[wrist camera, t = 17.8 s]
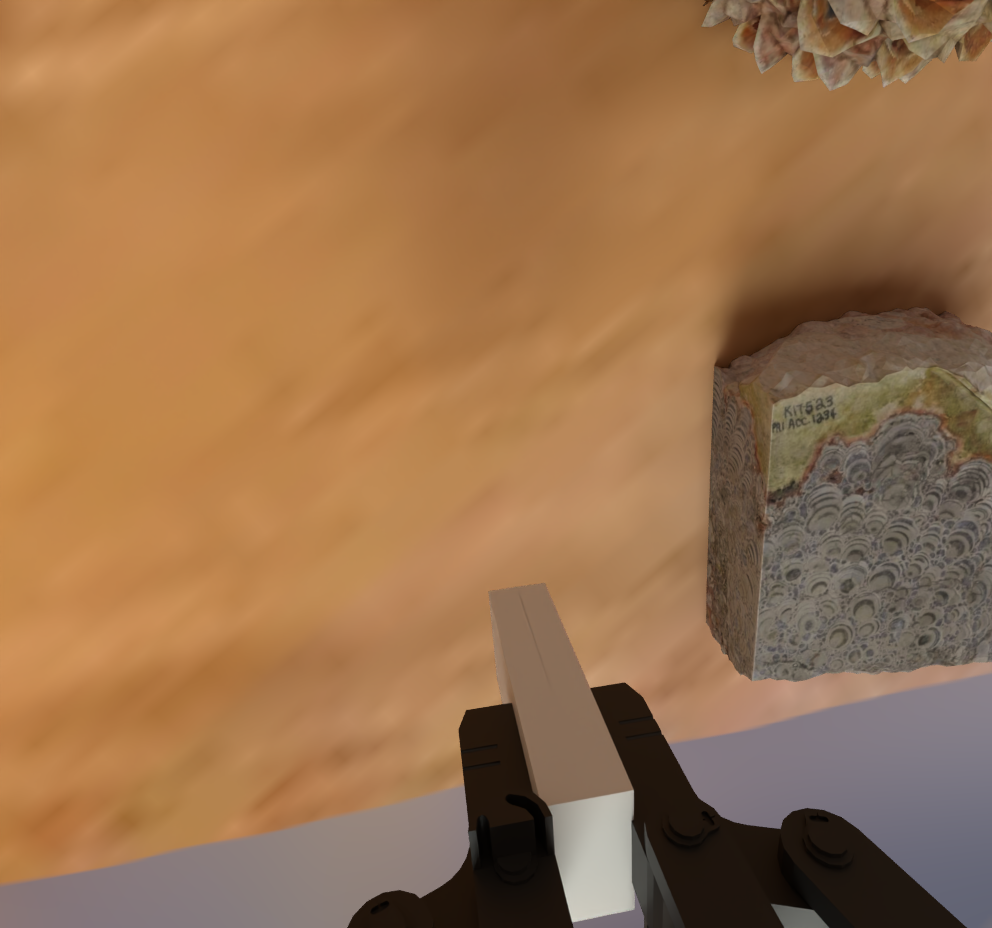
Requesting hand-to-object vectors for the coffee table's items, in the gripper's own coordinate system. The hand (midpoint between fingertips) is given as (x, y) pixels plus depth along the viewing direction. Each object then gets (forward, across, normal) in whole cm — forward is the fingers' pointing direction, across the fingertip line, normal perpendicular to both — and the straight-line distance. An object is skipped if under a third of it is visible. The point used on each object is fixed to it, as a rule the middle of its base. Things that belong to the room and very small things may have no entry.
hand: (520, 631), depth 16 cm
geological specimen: (+10, -16, +2) cm, 19 cm away
